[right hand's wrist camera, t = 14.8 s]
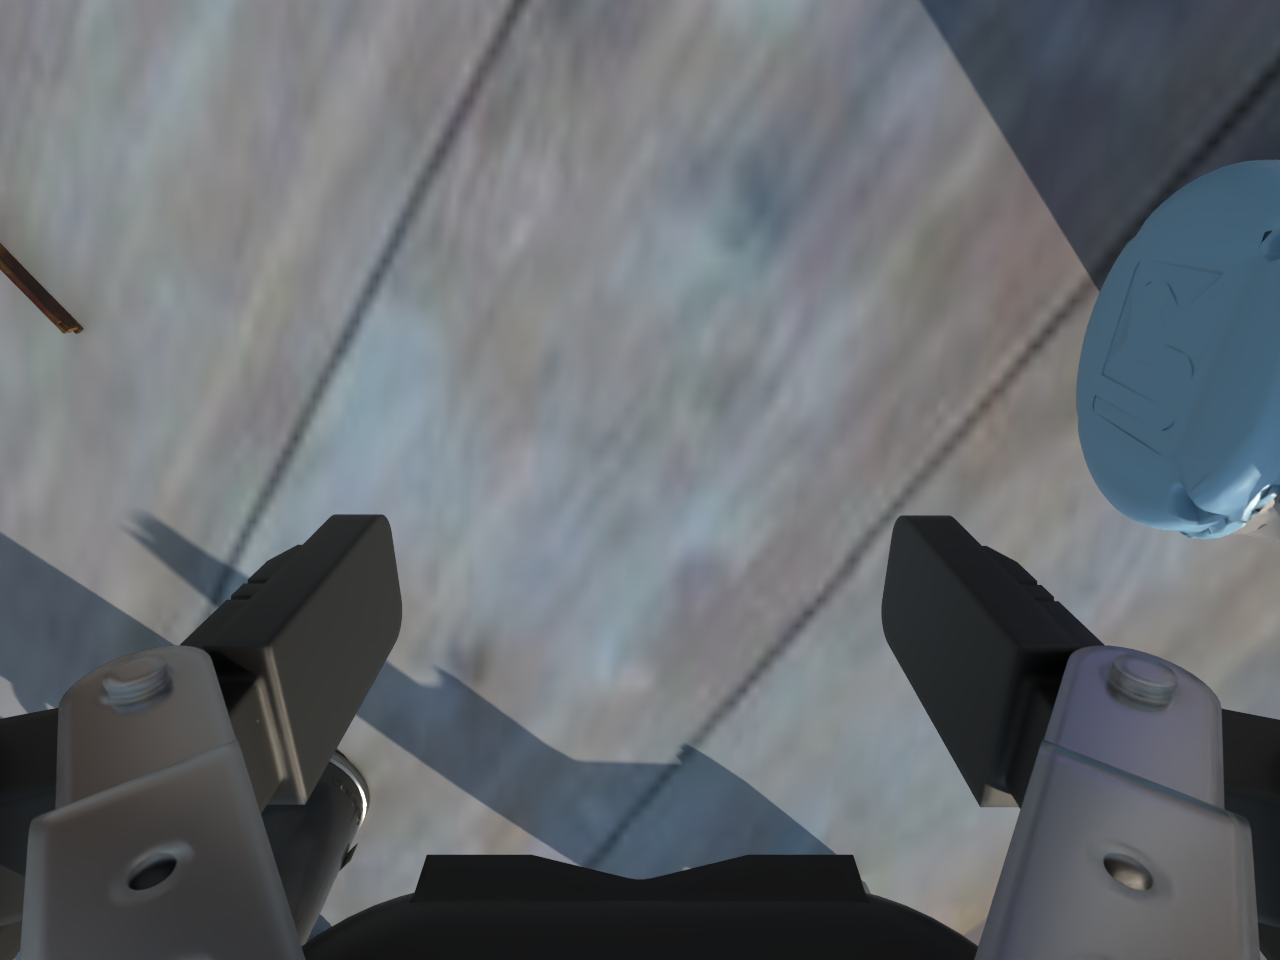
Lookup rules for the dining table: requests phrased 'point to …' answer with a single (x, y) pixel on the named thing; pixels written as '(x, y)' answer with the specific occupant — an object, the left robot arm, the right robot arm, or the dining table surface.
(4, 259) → the dark brown thin rod
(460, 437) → the dining table surface
